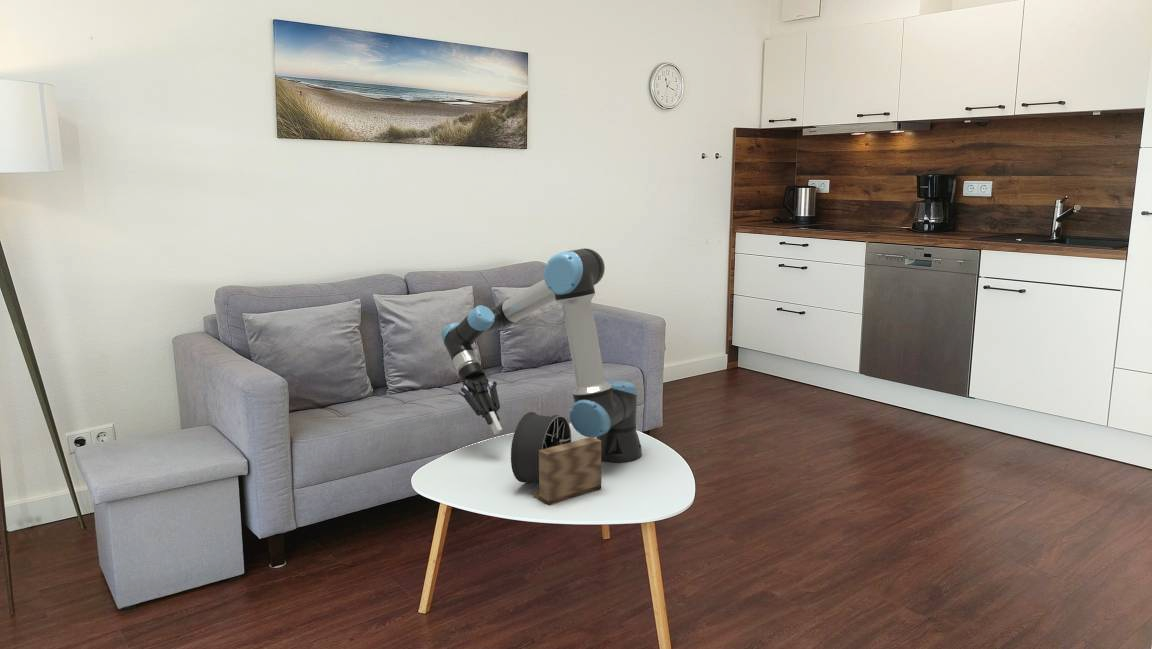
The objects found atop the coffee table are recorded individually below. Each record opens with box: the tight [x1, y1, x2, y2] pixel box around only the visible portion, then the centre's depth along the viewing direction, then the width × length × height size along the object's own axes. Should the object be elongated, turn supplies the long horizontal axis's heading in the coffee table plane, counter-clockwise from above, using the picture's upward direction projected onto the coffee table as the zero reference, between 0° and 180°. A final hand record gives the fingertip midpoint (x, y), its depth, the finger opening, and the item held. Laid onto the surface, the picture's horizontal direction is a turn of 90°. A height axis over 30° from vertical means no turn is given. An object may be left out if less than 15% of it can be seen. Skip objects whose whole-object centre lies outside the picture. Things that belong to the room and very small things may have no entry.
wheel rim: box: [510, 411, 572, 484], centre depth 229 cm, size 20×9×20 cm, turn 156°
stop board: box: [532, 437, 602, 506], centre depth 222 cm, size 18×7×14 cm, turn 128°
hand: (498, 432), depth 247 cm, fingers closed
